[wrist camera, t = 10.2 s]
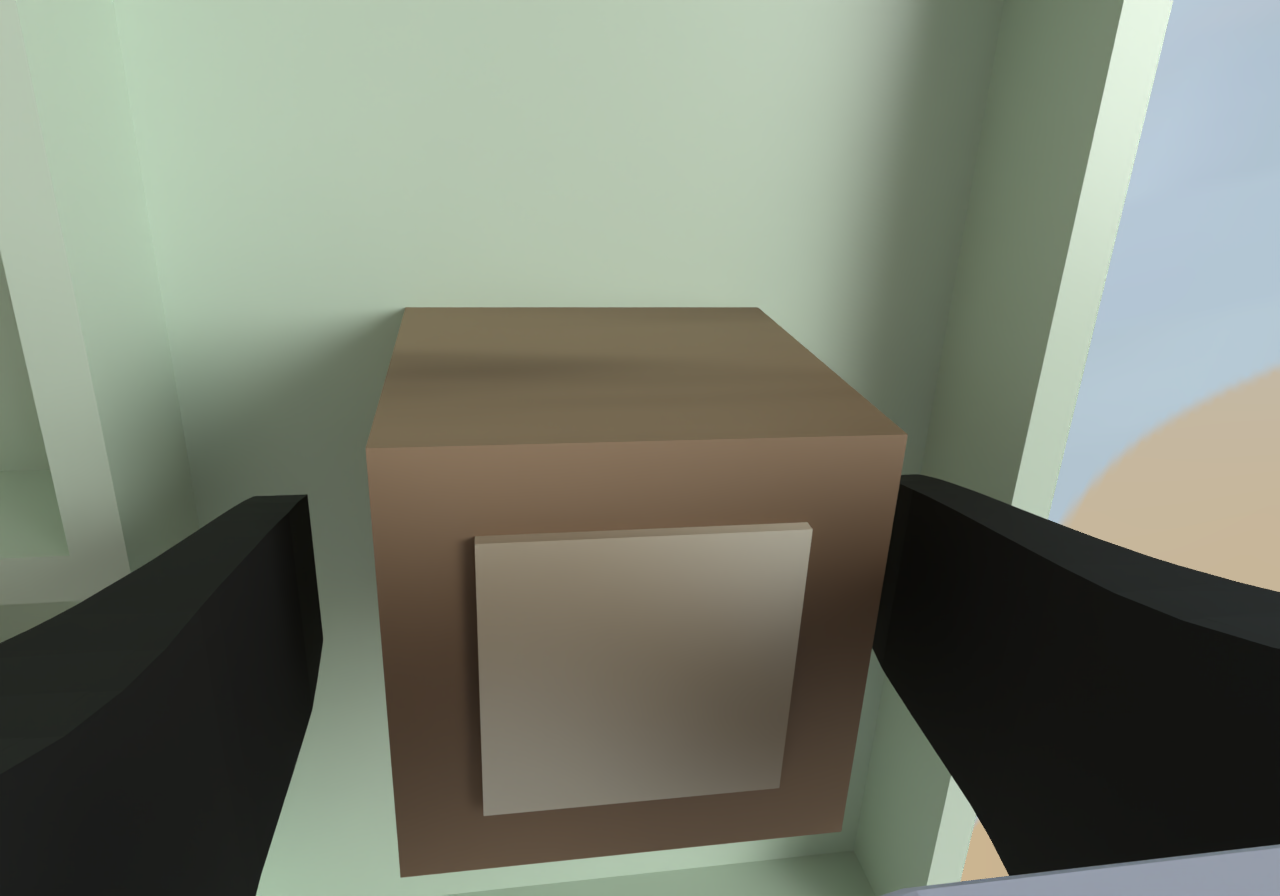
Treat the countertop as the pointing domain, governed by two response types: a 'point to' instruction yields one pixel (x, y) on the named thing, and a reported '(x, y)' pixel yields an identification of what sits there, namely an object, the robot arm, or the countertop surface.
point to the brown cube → (621, 580)
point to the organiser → (532, 298)
